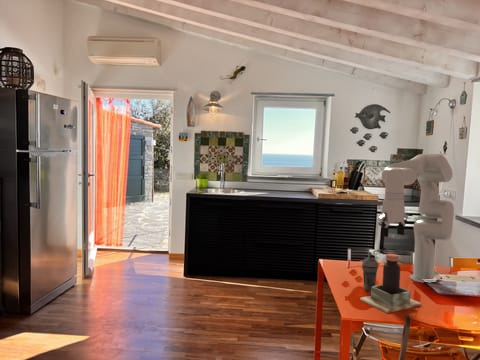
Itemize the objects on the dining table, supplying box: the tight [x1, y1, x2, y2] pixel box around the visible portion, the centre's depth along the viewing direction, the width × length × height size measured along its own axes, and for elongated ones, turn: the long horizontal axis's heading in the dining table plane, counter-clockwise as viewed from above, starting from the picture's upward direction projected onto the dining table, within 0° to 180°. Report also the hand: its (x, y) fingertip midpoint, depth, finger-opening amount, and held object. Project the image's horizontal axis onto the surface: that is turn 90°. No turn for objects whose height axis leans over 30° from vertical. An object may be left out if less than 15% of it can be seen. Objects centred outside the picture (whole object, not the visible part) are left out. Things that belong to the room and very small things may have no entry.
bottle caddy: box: [359, 284, 422, 314], centre depth 159 cm, size 20×15×6 cm
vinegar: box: [382, 253, 401, 295], centre depth 158 cm, size 7×7×20 cm
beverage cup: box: [361, 247, 379, 292], centre depth 175 cm, size 7×7×20 cm
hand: (392, 235), depth 161 cm, fingers open, 9 cm apart
